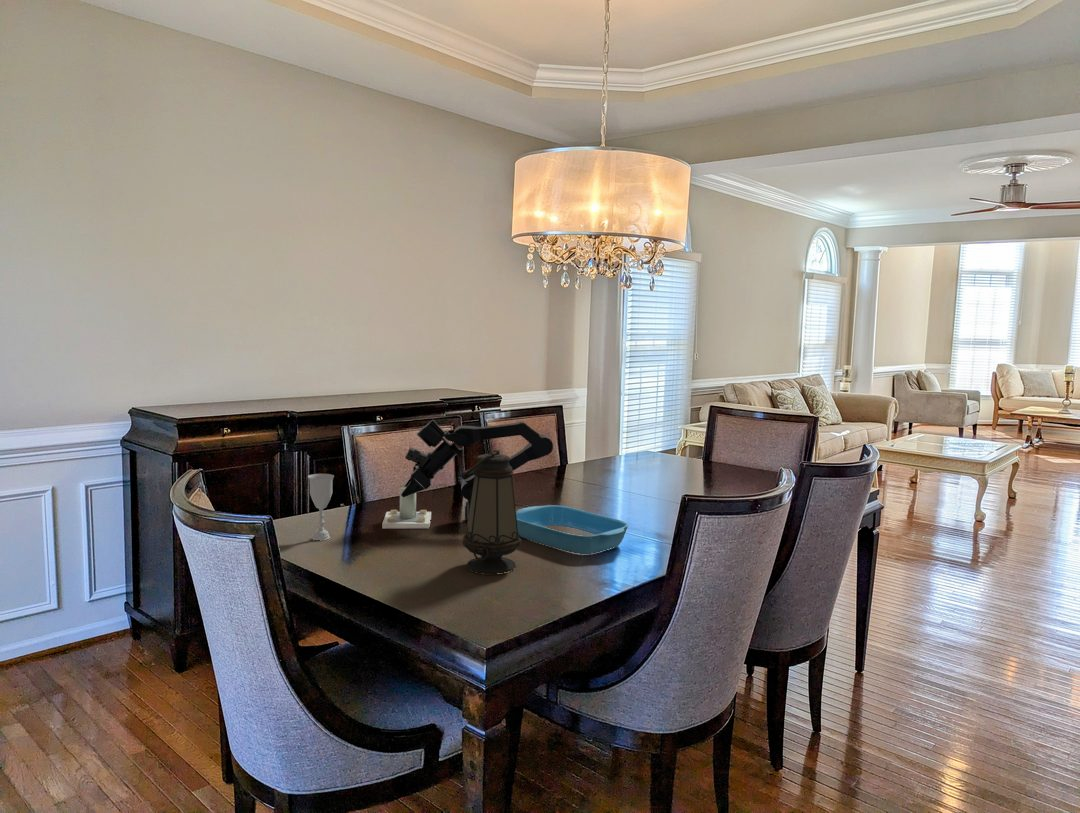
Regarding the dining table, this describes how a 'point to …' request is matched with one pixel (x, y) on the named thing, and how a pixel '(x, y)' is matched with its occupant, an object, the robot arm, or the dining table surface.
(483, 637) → the dining table surface
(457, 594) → the dining table surface
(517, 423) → the robot arm
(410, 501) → the sage green capsule
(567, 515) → the casserole dish
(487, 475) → the lantern
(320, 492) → the chalice
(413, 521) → the display tile
